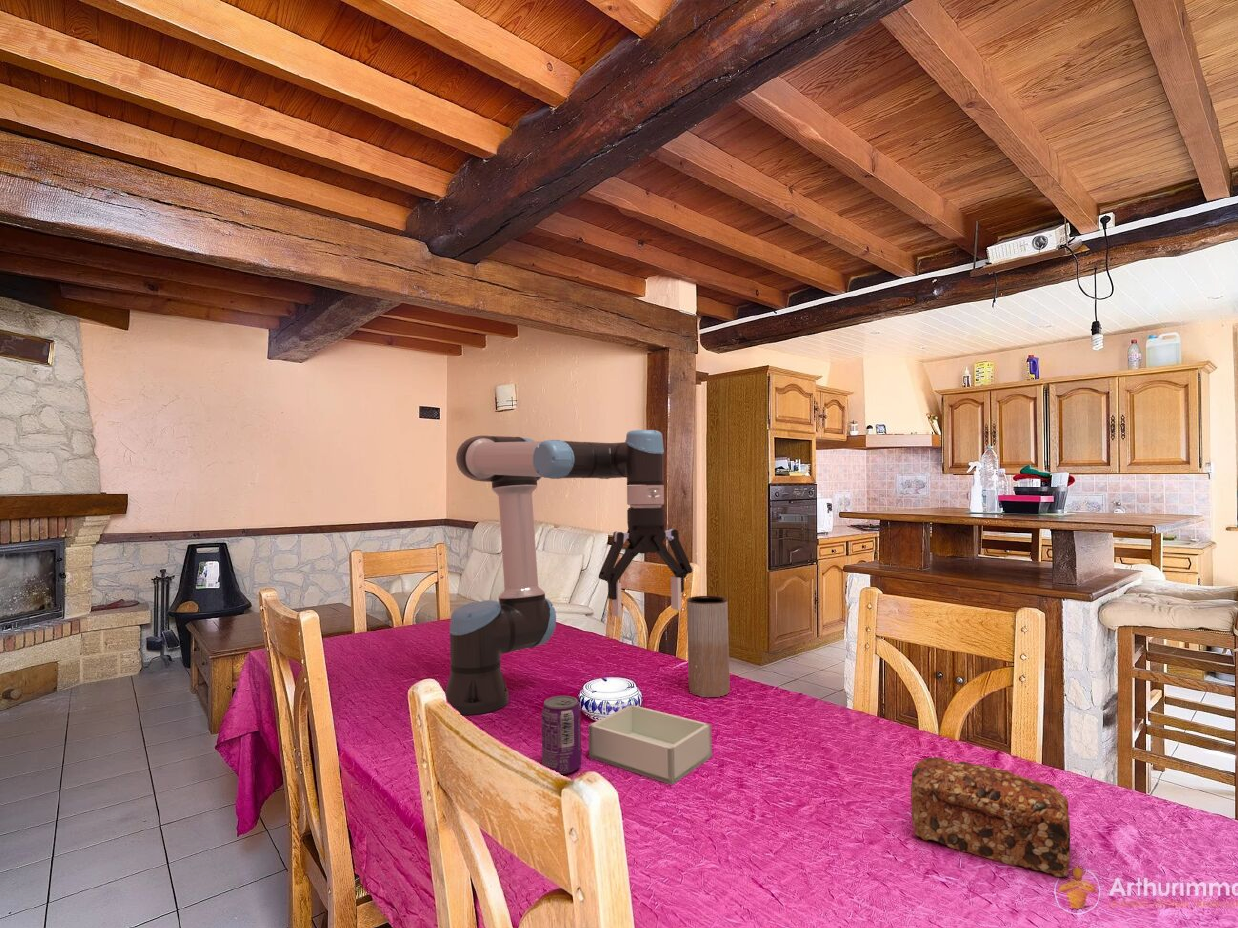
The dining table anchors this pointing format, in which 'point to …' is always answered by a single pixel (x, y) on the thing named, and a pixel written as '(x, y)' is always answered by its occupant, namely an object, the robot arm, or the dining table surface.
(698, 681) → the planter
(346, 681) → the dining table surface
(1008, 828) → the bread
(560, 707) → the beverage can
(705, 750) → the tub
